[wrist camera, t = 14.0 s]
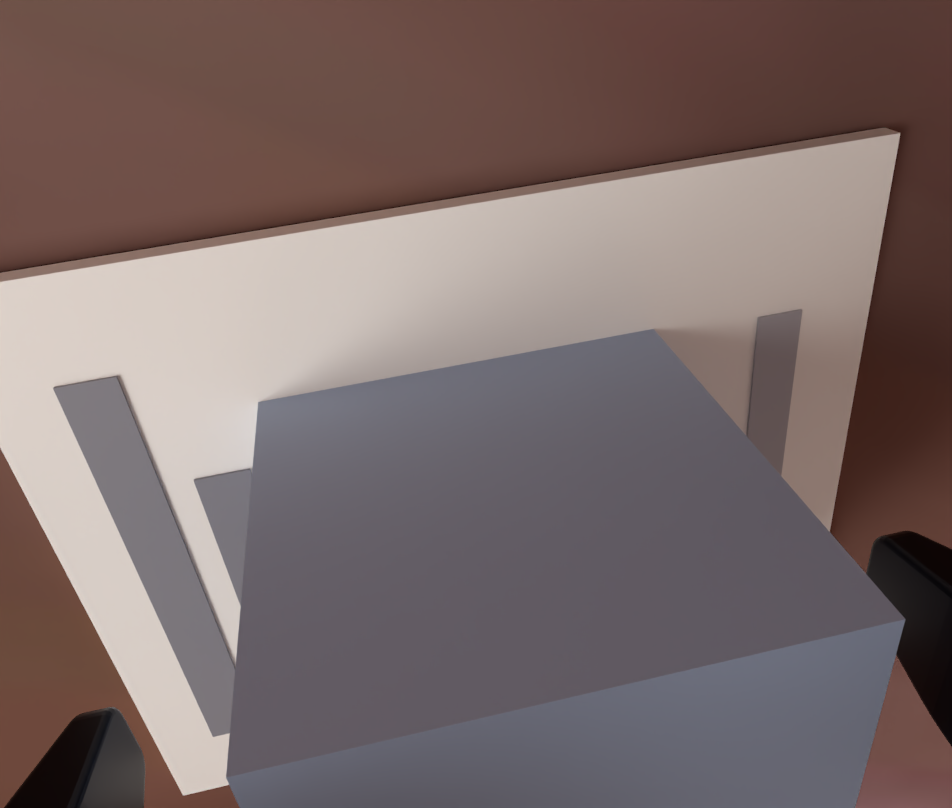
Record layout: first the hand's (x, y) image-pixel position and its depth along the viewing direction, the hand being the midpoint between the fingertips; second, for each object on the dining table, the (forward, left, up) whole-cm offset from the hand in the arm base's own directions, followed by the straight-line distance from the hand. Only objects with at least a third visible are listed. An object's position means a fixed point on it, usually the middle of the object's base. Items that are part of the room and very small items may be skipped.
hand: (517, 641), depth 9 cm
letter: (0, 0, -3) cm, 3 cm away
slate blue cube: (0, 0, -2) cm, 2 cm away
